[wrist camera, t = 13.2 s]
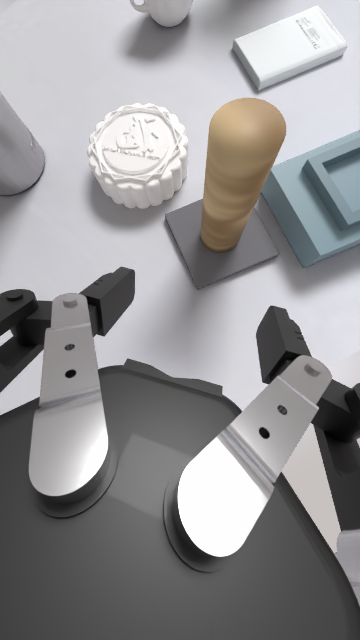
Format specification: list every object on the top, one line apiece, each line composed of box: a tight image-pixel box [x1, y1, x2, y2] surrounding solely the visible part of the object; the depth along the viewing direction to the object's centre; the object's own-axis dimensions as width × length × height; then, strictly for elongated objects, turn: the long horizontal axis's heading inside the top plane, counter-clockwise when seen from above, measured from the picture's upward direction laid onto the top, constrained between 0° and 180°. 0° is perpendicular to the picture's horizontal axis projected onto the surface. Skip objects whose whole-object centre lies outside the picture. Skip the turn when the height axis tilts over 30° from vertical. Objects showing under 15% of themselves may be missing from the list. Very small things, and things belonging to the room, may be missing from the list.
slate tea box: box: [261, 130, 360, 268], centre depth 21 cm, size 14×11×4 cm
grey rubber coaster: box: [165, 199, 279, 289], centre depth 23 cm, size 10×10×1 cm
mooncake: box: [87, 103, 189, 209], centre depth 24 cm, size 12×12×4 cm
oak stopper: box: [200, 98, 286, 253], centre depth 17 cm, size 5×5×11 cm
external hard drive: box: [232, 6, 347, 91], centre depth 26 cm, size 2×8×12 cm
